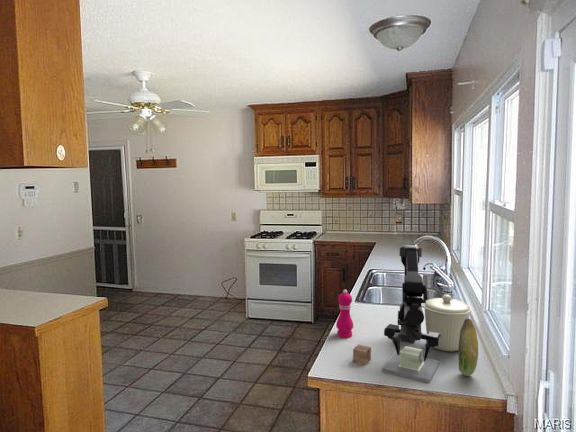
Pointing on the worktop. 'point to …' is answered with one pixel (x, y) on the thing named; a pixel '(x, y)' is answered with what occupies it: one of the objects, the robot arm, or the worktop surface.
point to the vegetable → (468, 348)
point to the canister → (446, 320)
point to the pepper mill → (344, 316)
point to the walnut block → (362, 354)
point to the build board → (421, 374)
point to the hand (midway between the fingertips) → (411, 357)
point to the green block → (411, 357)
